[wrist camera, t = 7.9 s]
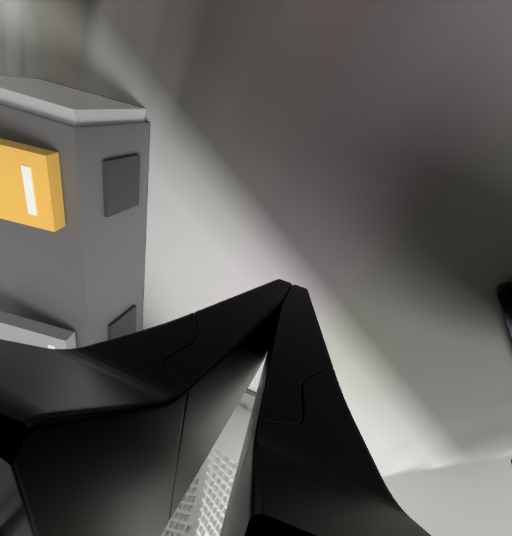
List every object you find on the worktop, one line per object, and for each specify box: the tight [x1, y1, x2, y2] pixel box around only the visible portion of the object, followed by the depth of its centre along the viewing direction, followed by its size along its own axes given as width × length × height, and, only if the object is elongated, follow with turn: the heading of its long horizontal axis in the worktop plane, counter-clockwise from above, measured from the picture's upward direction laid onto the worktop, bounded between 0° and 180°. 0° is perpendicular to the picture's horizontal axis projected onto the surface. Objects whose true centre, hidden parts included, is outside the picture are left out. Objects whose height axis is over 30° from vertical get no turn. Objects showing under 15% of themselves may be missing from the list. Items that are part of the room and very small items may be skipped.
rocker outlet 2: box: [0, 311, 76, 349], centre depth 25 cm, size 8×4×1 cm, turn 77°
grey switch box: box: [0, 76, 150, 348], centre depth 26 cm, size 10×22×6 cm, turn 167°
